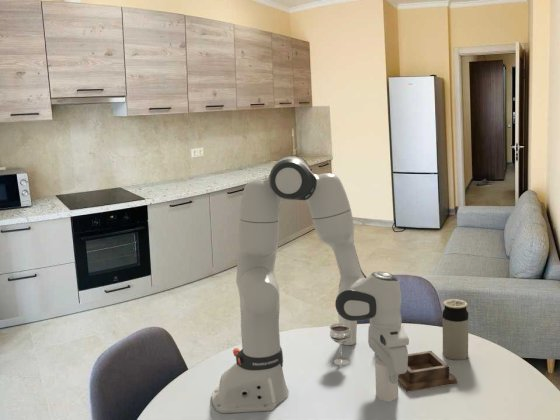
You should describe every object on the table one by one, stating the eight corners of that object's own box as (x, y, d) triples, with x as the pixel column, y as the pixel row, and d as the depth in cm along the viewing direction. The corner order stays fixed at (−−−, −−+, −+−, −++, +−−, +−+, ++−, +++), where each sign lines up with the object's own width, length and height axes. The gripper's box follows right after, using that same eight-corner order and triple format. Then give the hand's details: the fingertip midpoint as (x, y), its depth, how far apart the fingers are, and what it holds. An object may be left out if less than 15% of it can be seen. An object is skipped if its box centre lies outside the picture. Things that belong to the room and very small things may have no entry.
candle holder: (406, 391, 156) (406, 375, 155) (387, 370, 170) (387, 355, 169) (457, 383, 159) (457, 367, 158) (434, 362, 173) (434, 348, 172)
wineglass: (355, 363, 175) (354, 328, 173) (337, 368, 173) (335, 333, 171) (345, 355, 181) (344, 321, 179) (327, 359, 179) (325, 325, 177)
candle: (398, 390, 157) (398, 342, 155) (397, 401, 151) (396, 351, 148) (377, 388, 159) (375, 340, 156) (374, 399, 153) (373, 350, 150)
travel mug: (470, 360, 173) (470, 307, 170) (444, 360, 174) (444, 307, 171) (465, 349, 180) (465, 298, 177) (441, 349, 182) (441, 298, 179)
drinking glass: (357, 347, 187) (356, 306, 184) (338, 346, 188) (336, 306, 186) (358, 339, 193) (357, 299, 191) (340, 338, 195) (338, 299, 192)
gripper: (362, 317, 161) (363, 360, 163) (389, 345, 141) (390, 393, 144) (382, 314, 162) (383, 357, 165) (411, 341, 142) (412, 389, 145)
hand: (387, 374), depth 154 cm, fingers open, 8 cm apart
